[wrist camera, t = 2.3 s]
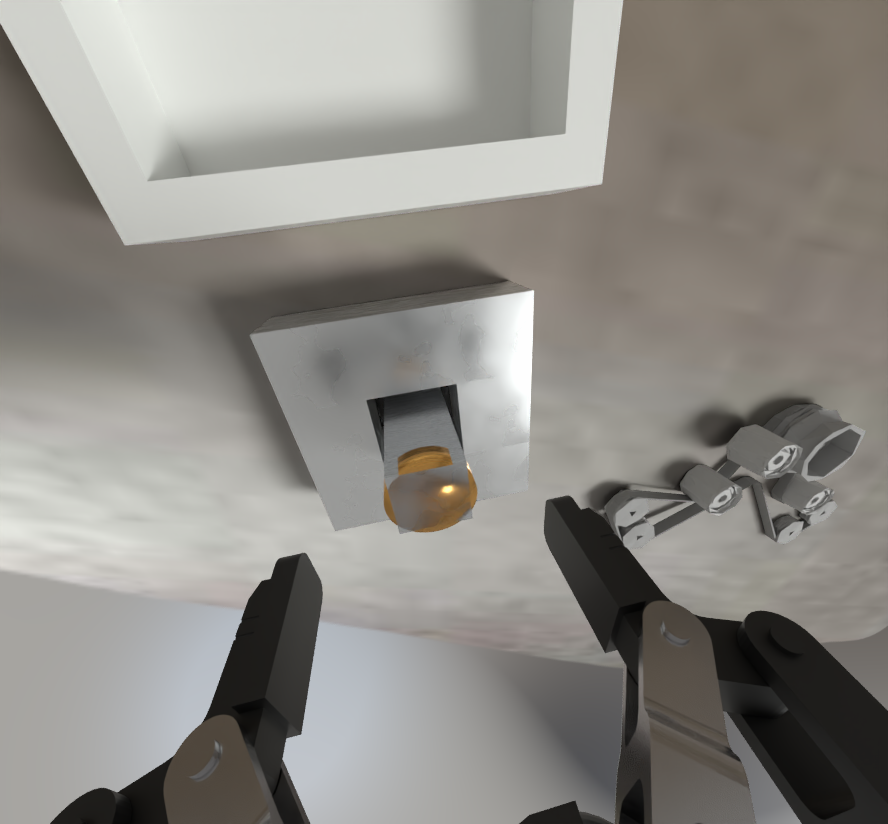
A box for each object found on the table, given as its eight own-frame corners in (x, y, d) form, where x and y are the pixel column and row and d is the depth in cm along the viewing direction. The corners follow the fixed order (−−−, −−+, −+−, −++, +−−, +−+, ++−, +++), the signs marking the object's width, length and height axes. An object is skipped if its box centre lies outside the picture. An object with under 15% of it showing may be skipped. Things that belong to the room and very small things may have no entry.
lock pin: (377, 380, 18) (373, 473, 11) (439, 369, 18) (474, 453, 11) (390, 432, 20) (394, 540, 13) (446, 421, 20) (479, 521, 13)
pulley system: (659, 373, 22) (579, 532, 28) (726, 402, 18) (615, 580, 24) (883, 409, 30) (781, 528, 36) (965, 435, 26) (835, 564, 32)
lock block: (271, 317, 15) (249, 334, 13) (510, 280, 16) (533, 290, 14) (340, 495, 22) (335, 531, 19) (511, 460, 23) (527, 490, 20)
